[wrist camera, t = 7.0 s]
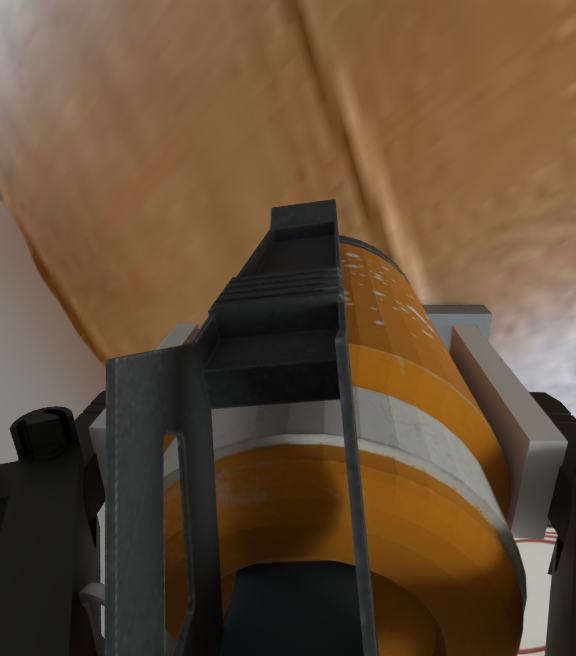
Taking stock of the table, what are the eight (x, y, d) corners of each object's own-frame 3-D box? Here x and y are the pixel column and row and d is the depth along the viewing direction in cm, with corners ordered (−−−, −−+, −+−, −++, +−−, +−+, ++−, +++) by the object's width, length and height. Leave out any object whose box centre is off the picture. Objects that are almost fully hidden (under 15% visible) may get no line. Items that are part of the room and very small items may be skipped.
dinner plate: (667, 527, 54) (688, 551, 51) (584, 671, 64) (597, 698, 61) (436, 493, 55) (442, 514, 52) (391, 640, 65) (394, 665, 62)
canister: (252, 404, 25) (28, 1149, 6) (212, 198, 21) (-680, 617, 2) (418, 391, 24) (728, 1260, 5) (410, 171, 20) (1584, 580, 1)
